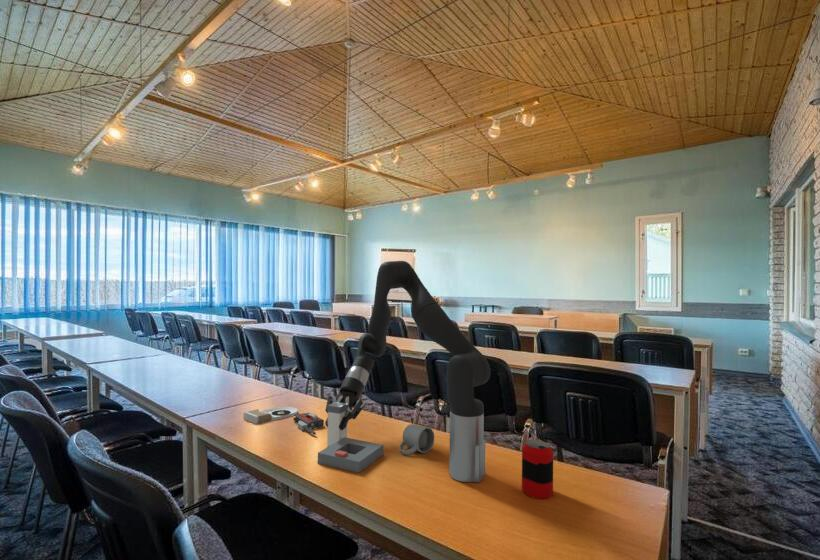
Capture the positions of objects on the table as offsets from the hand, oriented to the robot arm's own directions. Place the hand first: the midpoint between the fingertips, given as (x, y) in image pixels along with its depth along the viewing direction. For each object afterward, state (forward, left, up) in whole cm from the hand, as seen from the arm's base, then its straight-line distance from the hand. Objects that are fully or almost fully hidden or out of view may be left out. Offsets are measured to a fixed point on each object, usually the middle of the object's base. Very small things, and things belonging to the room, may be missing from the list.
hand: (334, 427), depth 132 cm
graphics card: (+40, -16, -7) cm, 44 cm away
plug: (0, -2, -6) cm, 6 cm away
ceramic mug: (-24, -10, -6) cm, 27 cm away
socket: (-10, +5, -6) cm, 13 cm away
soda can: (-63, +1, -6) cm, 63 cm away
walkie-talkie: (+19, -12, -7) cm, 23 cm away
